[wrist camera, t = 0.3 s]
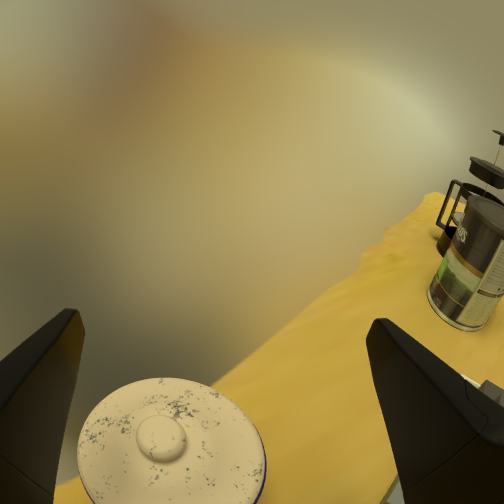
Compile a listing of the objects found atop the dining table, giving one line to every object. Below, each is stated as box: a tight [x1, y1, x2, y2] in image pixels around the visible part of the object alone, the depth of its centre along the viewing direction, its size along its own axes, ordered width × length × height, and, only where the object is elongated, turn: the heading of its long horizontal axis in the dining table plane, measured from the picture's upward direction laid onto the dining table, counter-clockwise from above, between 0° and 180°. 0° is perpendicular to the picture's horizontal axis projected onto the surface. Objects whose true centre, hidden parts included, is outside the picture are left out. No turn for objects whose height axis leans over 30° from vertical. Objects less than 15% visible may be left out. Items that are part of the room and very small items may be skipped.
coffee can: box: [427, 195, 504, 332], centre depth 32 cm, size 10×10×14 cm
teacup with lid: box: [77, 378, 266, 504], centre depth 13 cm, size 12×9×12 cm
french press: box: [436, 130, 504, 257], centre depth 41 cm, size 12×9×23 cm
